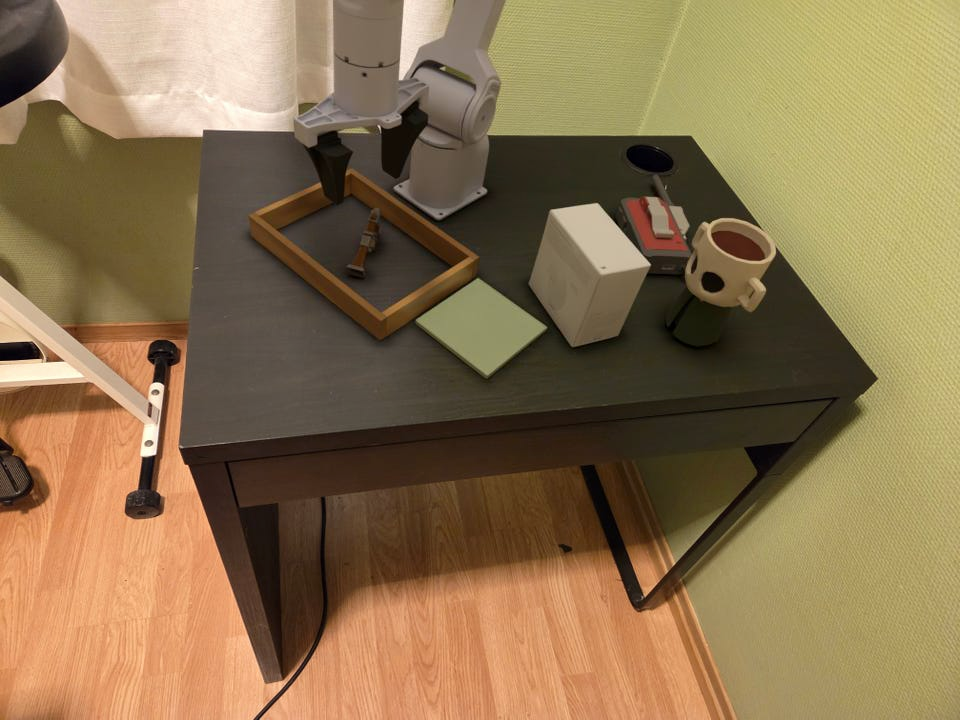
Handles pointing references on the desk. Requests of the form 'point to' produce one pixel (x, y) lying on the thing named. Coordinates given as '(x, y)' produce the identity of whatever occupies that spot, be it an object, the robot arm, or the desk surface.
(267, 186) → the desk surface
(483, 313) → the mat
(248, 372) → the desk surface
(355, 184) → the wooden frame
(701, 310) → the character mug
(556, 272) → the cosmetics box
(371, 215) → the wooden post with brackets
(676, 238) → the walkie-talkie
